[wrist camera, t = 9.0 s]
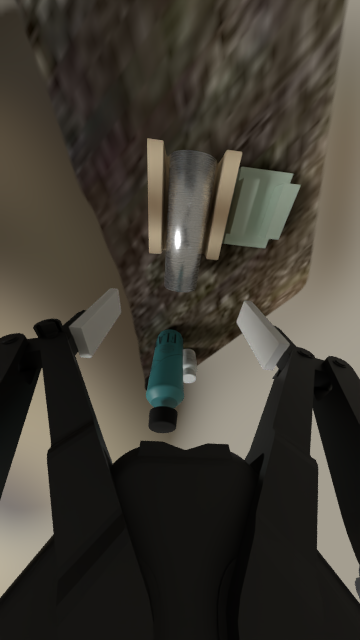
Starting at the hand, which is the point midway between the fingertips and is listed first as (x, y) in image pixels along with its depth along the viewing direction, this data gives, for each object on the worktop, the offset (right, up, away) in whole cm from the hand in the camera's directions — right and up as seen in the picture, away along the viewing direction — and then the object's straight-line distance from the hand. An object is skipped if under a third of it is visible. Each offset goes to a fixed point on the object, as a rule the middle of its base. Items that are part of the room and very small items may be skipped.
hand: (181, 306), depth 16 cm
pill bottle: (+2, -11, +25) cm, 27 cm away
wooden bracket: (+1, +15, +7) cm, 17 cm away
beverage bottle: (-3, -5, +21) cm, 22 cm away
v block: (+11, +14, +8) cm, 20 cm away
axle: (+1, +10, +4) cm, 11 cm away
